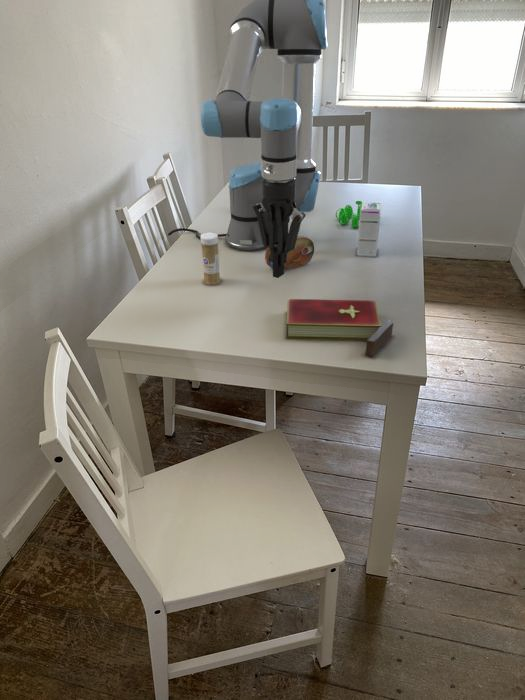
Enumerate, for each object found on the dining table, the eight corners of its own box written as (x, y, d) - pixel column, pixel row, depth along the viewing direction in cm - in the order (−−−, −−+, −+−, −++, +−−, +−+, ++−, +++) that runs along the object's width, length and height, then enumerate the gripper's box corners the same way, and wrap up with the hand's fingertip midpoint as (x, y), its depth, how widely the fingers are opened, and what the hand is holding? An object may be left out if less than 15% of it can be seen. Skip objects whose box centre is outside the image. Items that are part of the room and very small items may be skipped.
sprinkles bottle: (201, 284, 144) (197, 237, 136) (208, 276, 147) (205, 230, 139) (216, 286, 142) (213, 239, 134) (223, 279, 146) (220, 233, 138)
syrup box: (376, 257, 156) (381, 209, 148) (356, 255, 157) (360, 208, 149) (376, 249, 161) (382, 202, 153) (357, 248, 162) (361, 201, 154)
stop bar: (365, 355, 115) (366, 340, 112) (384, 334, 121) (387, 320, 119) (371, 357, 114) (373, 342, 112) (391, 337, 121) (393, 322, 118)
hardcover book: (287, 312, 130) (287, 297, 128) (373, 313, 129) (375, 298, 127) (286, 338, 121) (286, 322, 118) (379, 340, 119) (381, 324, 117)
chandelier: (376, 232, 172) (378, 211, 168) (330, 227, 176) (332, 207, 172) (382, 216, 184) (384, 197, 180) (339, 212, 188) (341, 193, 184)
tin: (268, 274, 148) (268, 246, 143) (263, 269, 150) (263, 242, 146) (314, 263, 154) (315, 235, 149) (308, 259, 156) (309, 231, 151)
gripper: (244, 177, 115) (247, 274, 129) (294, 188, 109) (292, 288, 123) (264, 168, 120) (265, 262, 134) (313, 178, 114) (309, 276, 128)
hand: (278, 275), depth 128 cm, fingers closed
